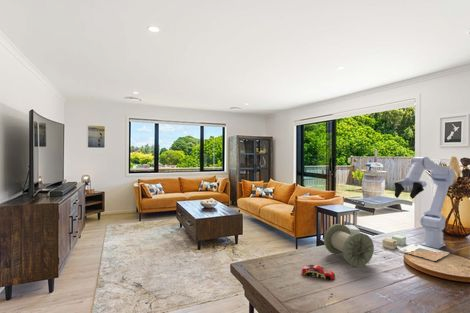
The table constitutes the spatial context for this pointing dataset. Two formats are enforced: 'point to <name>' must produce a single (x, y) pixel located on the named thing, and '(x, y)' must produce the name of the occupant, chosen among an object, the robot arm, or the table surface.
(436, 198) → the robot arm
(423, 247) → the baseplate
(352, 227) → the ink box
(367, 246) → the spool
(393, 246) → the maple block
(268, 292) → the table surface
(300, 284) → the table surface
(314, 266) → the race car
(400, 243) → the sage block
